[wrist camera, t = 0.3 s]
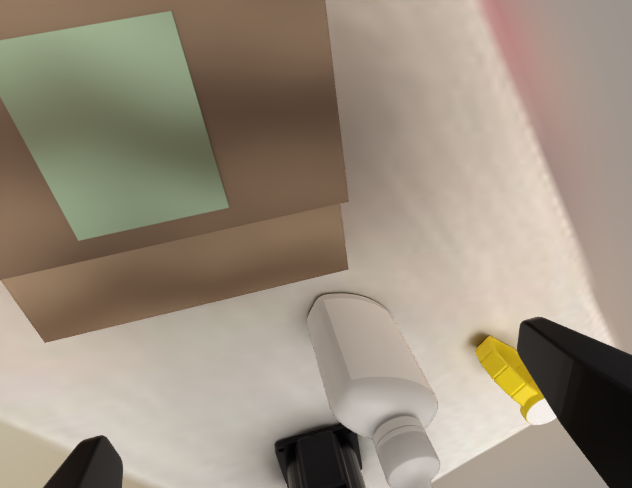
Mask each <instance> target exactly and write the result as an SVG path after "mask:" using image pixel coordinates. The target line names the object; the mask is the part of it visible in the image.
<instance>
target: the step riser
mask: <svg viewBox="0 0 632 488" xmlns="http://www.w3.org/2000/svg"><path fill="white" fill-rule="evenodd" d="M344 202H348V193H347V184H346V176H345V167H344V159H343V150H342V142H341V133H340V124H339V116H338V107H337V99H336V90H335V82H334V73H333V65H332V56H331V47H330V39H329V30H328V22H327V13H326V5H325V0H0V280H1V281H2V283H3V284H4V285H5V287H6V288H7V290H8V291H9V293H10V294H11V295H12V297H13V298H14V300H15V301H16V302H17V304H18V305H19V307H20V308H21V310H22V311H23V312H24V314H25V315H26V317H27V318H28V319H29V321H30V322H31V324H32V325H33V327H34V328H35V329H36V331H37V332H38V334H39V335H40V336H41V338H42V339H43V341H44V342H45V343H46V342H50V341H54V340H58V339H62V338H66V337H71V336H75V335H79V334H83V333H87V332H91V331H95V330H100V329H104V328H108V327H112V326H116V325H120V324H124V323H128V322H133V321H137V320H141V319H145V318H149V317H153V316H157V315H162V314H166V313H170V312H174V311H178V310H182V309H186V308H191V307H195V306H199V305H203V304H207V303H211V302H215V301H219V300H224V299H228V298H232V297H236V296H240V295H244V294H248V293H253V292H257V291H261V290H265V289H269V288H273V287H277V286H281V285H286V284H290V283H294V282H298V281H302V280H306V279H310V278H315V277H319V276H323V275H327V274H331V273H335V272H339V271H344V270H348V263H347V255H346V247H345V239H344V232H343V224H342V216H341V209H340V203H344Z"/></svg>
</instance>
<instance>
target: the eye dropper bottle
mask: <svg viewBox="0 0 632 488" xmlns="http://www.w3.org/2000/svg"><path fill="white" fill-rule="evenodd" d="M307 325H308V329H309V333H310V336H311V340H312V344H313V348H314V351H315V355H316V359H317V362H318V366H319V370H320V373H321V377H322V381H323V384H324V388H325V391H326V395H327V398H328V401H329V405H330V408H331V410H332V412H333V414H334V416H335V417H336V419H337V420H338V421H339V422H340V423H342V424H343V425H344V426H345V427H347V428H348V429H350V430H352V431H353V432H355V433H357V434H359V435H361V436H363V437H365V438H368V439H370V440H373V443H374V446H375V449H376V452H377V455H378V458H379V460H380V463H381V466H382V469H383V472H384V475H385V478H386V481H387V483H388V485H389V486H391V487H392V488H432V484H431V480H432V479H433V478H434V477H435V476H436V475H437V473H438V471H439V468H440V461H439V459H438V457H437V455H436V452H435V450H434V448H433V446H432V444H431V442H430V440H429V438H428V436H427V434H426V432H425V430H424V429H425V428H426V427H427V426H428V425H429V424H430V422H431V421H432V419H433V418H434V416H435V414H436V412H437V409H438V402H437V399H436V397H435V394H434V392H433V390H432V388H431V386H430V384H429V382H428V381H427V379H426V377H425V375H424V373H423V371H422V369H421V368H420V366H419V364H418V362H417V360H416V359H415V357H414V355H413V353H412V351H411V349H410V348H409V346H408V344H407V342H406V340H405V339H404V337H403V335H402V333H401V331H400V330H399V328H398V326H397V324H396V322H395V321H394V319H393V317H392V315H391V314H390V312H389V311H388V310H387V309H385V308H384V307H383V306H382V305H380V304H379V303H377V302H375V301H373V300H371V299H369V298H366V297H363V296H359V295H354V294H345V293H336V294H326V295H323V296H320V297H319V298H318V299H317V300H316V301H315V303H314V305H313V307H312V309H311V311H310V313H309V315H308V317H307Z"/></svg>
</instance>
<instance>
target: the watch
mask: <svg viewBox="0 0 632 488" xmlns="http://www.w3.org/2000/svg"><path fill="white" fill-rule="evenodd" d="M476 355H477V357H478V359H479V361H480V363H481V365H482V366H483V367H484V369H485V370H486V371H487V373H488V374H489V375H490V376H491V378H492V379H494V381H495V382H496V383H497V384H498V385H499V386H500V387H501V388H502V389H503V390H504V391H505V392H506V393H507V394H508V395H509V396H511V398H512V399H514V400H515V401H516V402H517V403H519V404H520V405H521V408H520V412H521V414H522V416H523V417H524V418H525V420H526V421H527V422H528V423H530V424H533V425H541V424H545V423H548V422H550V421H552V420H554V419H555V418H557V417H556V415H555V414H554V412H553V411H552V409H551V408H550V406H549V404H548V403H547V401H546V400H545V398H544V396H543V395H542V393H541V391H540V390H539V388H538V387H537V385H536V383H535V382H534V380H533V378H532V377H531V375H530V374H529V372H528V370H527V369H526V367H525V365H524V364H523V362H522V361H521V359H520V357H519V355H518V352H517V351H516V350H515V349H514V348H512V347H510V346H508V345H506V344H504V343H502V342H500V341H498V340H497V339H495V338H493V337H492V336H488V337H487V338H486V339H485V340H484V341H483V342H482V343H481V344H480V345H479V346H478V347H477V349H476Z"/></svg>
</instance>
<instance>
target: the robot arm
mask: <svg viewBox="0 0 632 488" xmlns="http://www.w3.org/2000/svg"><path fill="white" fill-rule="evenodd" d="M517 351H518V355H519V357H520V359H521V361H522V362H523V364H524V365H525V367H526V369H527V370H528V372H529V374H530V375H531V377H532V378H533V380H534V382H535V383H536V385H537V387H538V388H539V390H540V391H541V393H542V395H543V396H544V398H545V400H546V401H547V403H548V404H549V406H550V408H551V409H552V411H553V412H554V414H555V415H556V417H557V419H558V420H559V421H560V423H561V424H562V426H563V427H564V428H565V430H566V431H567V432H568V434H569V435H570V436H571V438H572V439H573V440H574V442H575V443H576V444H577V446H578V447H579V448H580V450H581V451H582V452H583V454H584V455H585V456H586V458H587V459H588V460H589V461H590V463H591V464H592V465H593V467H594V468H595V469H596V471H597V472H598V473H599V475H600V476H601V477H602V479H603V480H604V481H605V483H606V484H607V485H608V486H609V488H632V355H630V354H628V353H626V352H623V351H621V350H619V349H616V348H614V347H612V346H609V345H607V344H605V343H602V342H600V341H597V340H595V339H593V338H590V337H588V336H586V335H583V334H581V333H579V332H576V331H574V330H571V329H569V328H567V327H564V326H562V325H560V324H557V323H555V322H553V321H550V320H548V319H545V318H543V317H535V318H531V319H527V320H524V321H522V323H521V324H520V328H519V336H518V344H517ZM275 453H276V456H277V458H278V461H279V464H280V467H281V470H282V473H283V475H284V478H285V481H286V484H287V487H288V488H366V487H365V483H364V480H363V477H362V473H361V470H362V463H361V456H360V450H359V444H358V437H357V433H355V432H353V431H352V430H350V429H348V428H347V427H345V426H344V425H343V424H341V425H337V426H334V427H330V428H327V429H323V430H319V431H316V432H312V433H309V434H305V435H301V436H298V437H294V438H291V439H287V440H284V441H280V442H277V443H276V444H275ZM122 478H123V464H122V460H121V457H120V456H119V454H118V453H117V451H116V450H115V449H114V447H113V446H112V444H111V443H110V441H109V440H108V439H107V437H105V436H103V435H100V436H96V437H93V438H89V439H85V440H83V441H81V442H80V443H79V444H78V445H77V446H76V448H75V449H74V450H73V451H72V452H71V454H70V455H69V456H68V457H67V459H66V460H65V461H64V462H63V464H62V465H61V466H60V467H59V469H58V470H57V471H56V473H55V474H54V475H53V476H52V477H51V478H50V480H49V481H48V482H47V483H46V485H45V486H44V487H43V488H122Z"/></svg>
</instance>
